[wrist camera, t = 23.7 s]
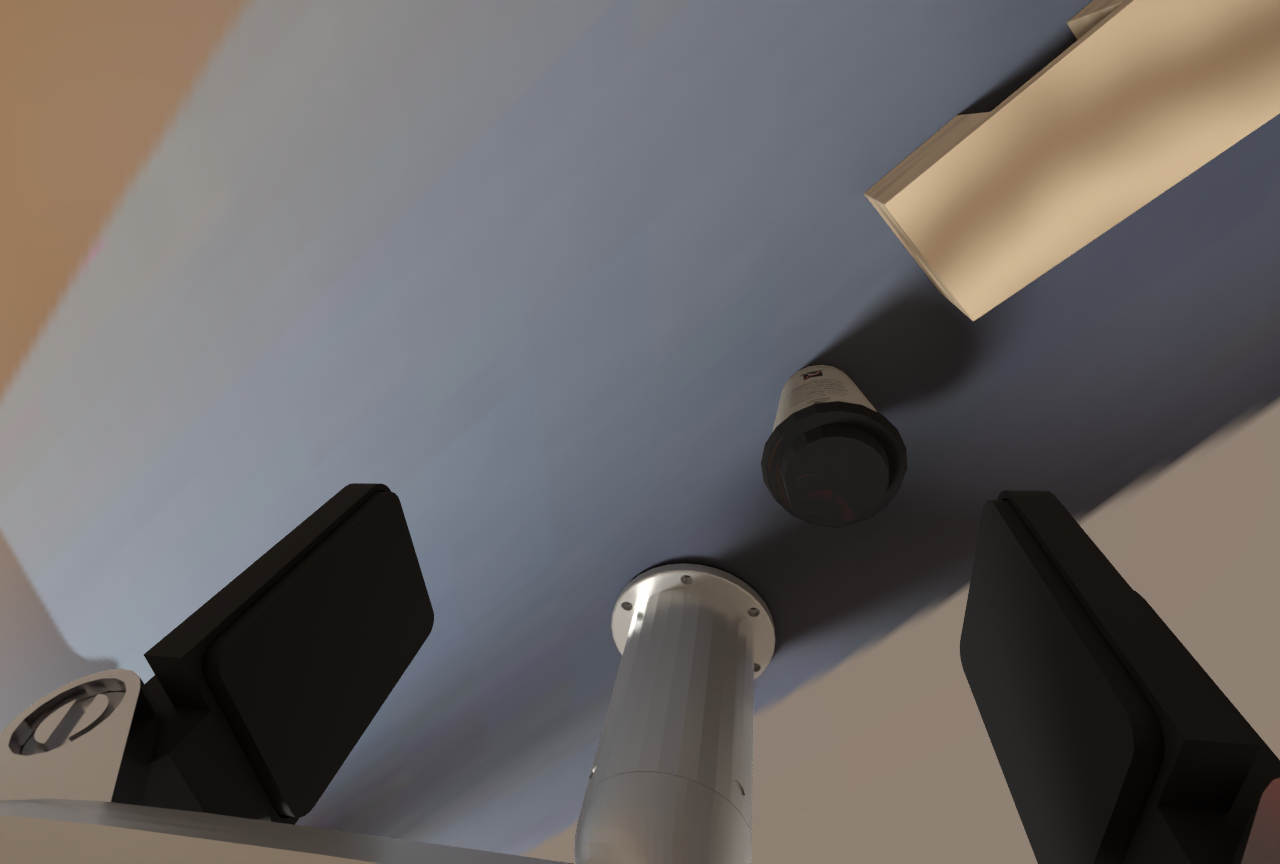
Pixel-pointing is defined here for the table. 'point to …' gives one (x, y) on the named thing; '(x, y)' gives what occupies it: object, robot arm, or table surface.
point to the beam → (1083, 142)
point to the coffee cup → (831, 451)
